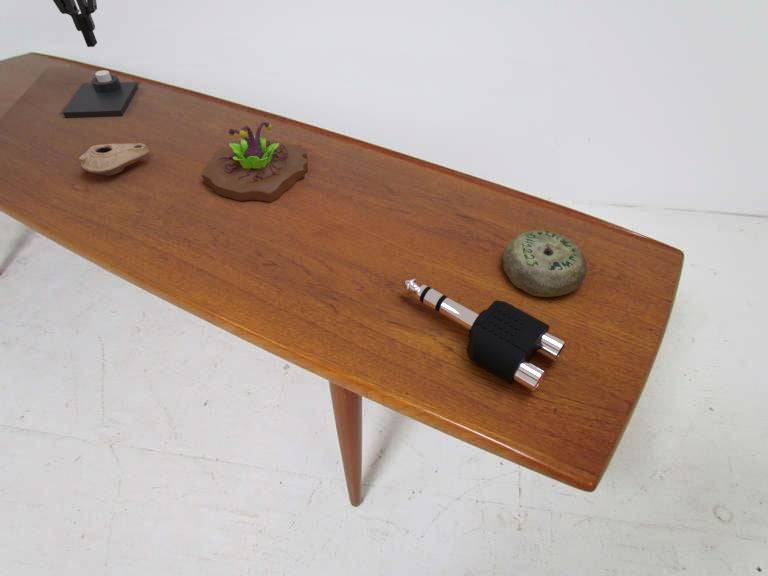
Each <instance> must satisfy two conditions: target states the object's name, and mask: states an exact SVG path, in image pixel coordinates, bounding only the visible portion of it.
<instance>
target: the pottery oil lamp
mask: <svg viewBox="0 0 768 576" xmlns="http://www.w3.org/2000/svg"><path fill="white" fill-rule="evenodd" d="M149 152H150V150H149V148H148V146H147V145H146V144H144V143H140V142H136V143H135V142H132V143H131V142H130V143H106V144H105V143H104V144H103V143H102V144H95V145H92V146H90V147H89V148H88V149H87V150H86V151H85V152H84V153H83V154H81V156H79V157H78V159H79V161H80V166H81V167H82V169H83V170H85V171H86V172H89V173H93V174H96V175H104V176H107V177H108V176H114V175H117V174H119V173H121V172H122V171H124V170H125V168H126V167H129V166H131V165H133V164H135V163H137V162H140V161H141V160H143V159H144V158H145V157H146V156H147V155H148V153H149Z"/></svg>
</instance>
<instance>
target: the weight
mask: <svg viewBox="0 0 768 576" xmlns="http://www.w3.org/2000/svg"><path fill="white" fill-rule="evenodd" d="M501 265H502V268H503V270H504V272H505V274H506V276H507V277H508V278H509V280H510V282H511V283H512V284H513V286H514V287H516V288H517V289H520V290H522V291H524V292H525V293H527V294H529V295H531V296H535V297H539V298H554V297H560V296H564V295H567V294H570V293H572V292H574V291H576V290H577V289H578V288H579V287H580V286H581V285H583V282H584V279H585V278H586V276H587V275H586V274H587V271H588V263H587V260H586V257H585V255H584V253H583V251H582V250H581V249H580V247H579V246H578V245H577V244H576V243H575V242H574V241H572V240H571V239H570V238H568V237H567V236H564V235H563V234H560V233H558V232H554V231H551V230H546V229H534V230H527V231H524V232H521V233H520V234H518V235H516V236H514V237H513V238H512V239H511V240H510V241H509V242H508V243H507V244H506V246H505V248H504V249H503V253H502V257H501Z"/></svg>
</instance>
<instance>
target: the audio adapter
mask: <svg viewBox="0 0 768 576" xmlns="http://www.w3.org/2000/svg"><path fill="white" fill-rule="evenodd" d="M401 285H402V286H403V288H404V291H405V293H406V295H412V294H415V300H417V302H420V303H422V304H423V305H425V306H426V307H429V308H430V309H432V310H433V311H436V312H437V313H439V314H441V316H444V317H446V318H447V319H449V320H451V321H453V322H455V323H456V324H458V325H460V326H461V327H463V328H465V329H466V330H468V331H469V332H468V342H467V346H466V352H467V356H468V359H469V360H470V361H471V362H473V363H475V364H476V365H478V366H479V367H481V368H483V369H484V370H486V371H487V372H489V373H491V374H493V375H494V376H496V377H498V378H499V379H500V380H502V381H504V382H505V383H507V384H509V385H512V384H513V383H514V382H517V383H518V384H520V385H522V386H524V387H525V388H527V389H528V390H530V391H531V392H535V390H536V389H537V388H538V387H539V385H540V383H541V382H542V380H543V378H544V376H545V373H546V371H545V370H544V369H542V368H541V367H539V366H537V365H535V364H533V363H532V362H530V361H531V360H532V359H533V358H534V356H535V355H536V353H539V354H541V355H542V356H544V357H546V358H548V359H549V360H552V361H553V362H556V361H557V359H559V356H561V354H562V352H563V350H564V348H565V346H566V344H567V342H566V341H565V340H563V339H562V338H560V337H557V336H556V335H554V334H552V333H550V332H549V330H550V324H548V323H546V322H544V321H542V320H540V319H539V318H536V317H535V316H533V315H531V314H529V313H527V312H526V311H523V310H521V308H520V309H519V308H518V307H516V306H514V305H513V304H510V303H509V302H506V301H503V300H494V301H493V302H492V303H491V304H490V305H489V306H488V307H487V308H486V309H483V310H482V311H481V312H479V313H478V312H476V311H474V310H473V309H471V308H469V307H468V306H465V305H464V304H462V303H460V302H458V301H457V300H456V299H455V300H454V299H453V298H451V297H449V296H447V295H446V294H444V293H442V292H440V291H438V290H437V289H435V288H433V287H431V286H430V285H428V284H425V283H424V284H422V285H419V284H418V279H417V278H409V279H403V280H401Z"/></svg>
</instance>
